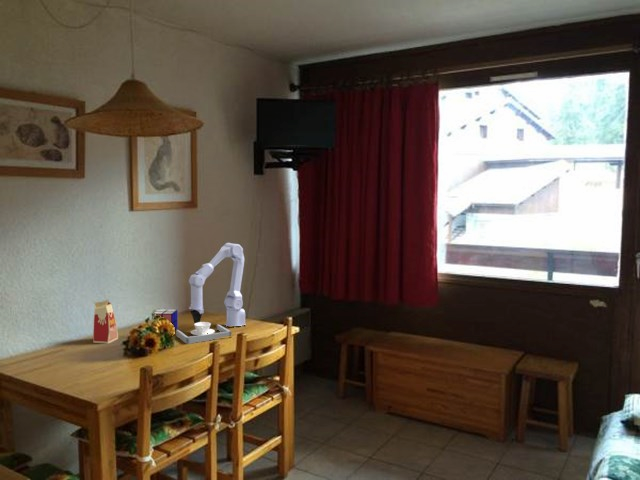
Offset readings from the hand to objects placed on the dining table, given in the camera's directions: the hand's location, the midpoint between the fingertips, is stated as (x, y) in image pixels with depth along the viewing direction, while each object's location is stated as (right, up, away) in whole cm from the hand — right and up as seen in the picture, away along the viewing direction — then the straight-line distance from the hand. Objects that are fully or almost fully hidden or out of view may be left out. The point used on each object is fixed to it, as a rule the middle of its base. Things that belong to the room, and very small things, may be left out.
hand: (197, 324), depth 272 cm
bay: (+5, -5, -7) cm, 10 cm away
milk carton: (-40, -5, -16) cm, 44 cm away
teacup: (+4, -5, -3) cm, 7 cm away
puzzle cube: (-17, -4, +3) cm, 18 cm away
